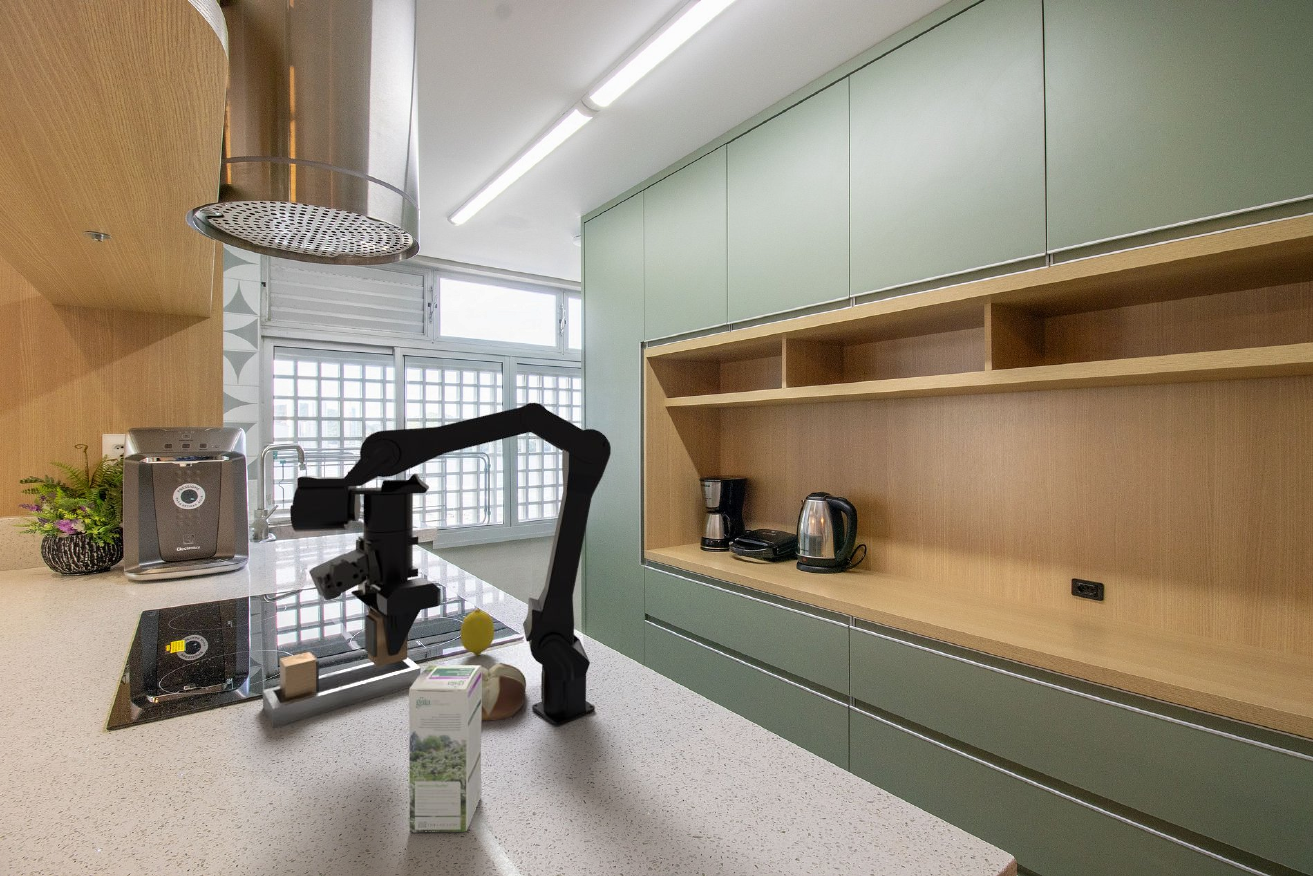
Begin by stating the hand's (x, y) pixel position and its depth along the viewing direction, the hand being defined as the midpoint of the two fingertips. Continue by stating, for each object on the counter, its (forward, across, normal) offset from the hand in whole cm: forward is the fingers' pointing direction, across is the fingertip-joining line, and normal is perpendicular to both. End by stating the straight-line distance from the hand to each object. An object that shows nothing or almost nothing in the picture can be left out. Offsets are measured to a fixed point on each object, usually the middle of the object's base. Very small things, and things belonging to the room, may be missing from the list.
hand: (388, 650), depth 74 cm
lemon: (+11, -16, +20) cm, 28 cm away
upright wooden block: (+1, 0, 0) cm, 1 cm away
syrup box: (+11, +20, -1) cm, 23 cm away
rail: (+11, -15, -1) cm, 18 cm away
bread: (+11, +1, +13) cm, 17 cm away
